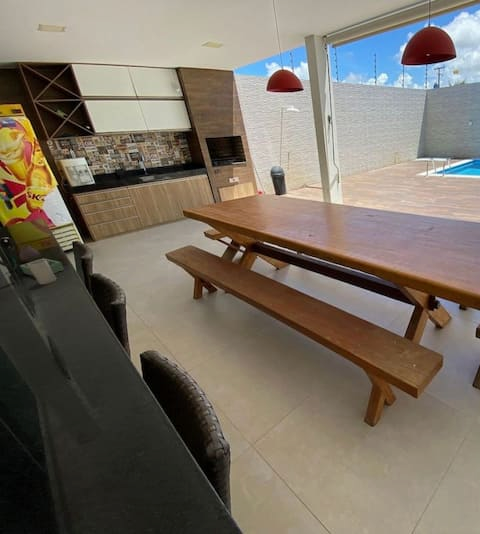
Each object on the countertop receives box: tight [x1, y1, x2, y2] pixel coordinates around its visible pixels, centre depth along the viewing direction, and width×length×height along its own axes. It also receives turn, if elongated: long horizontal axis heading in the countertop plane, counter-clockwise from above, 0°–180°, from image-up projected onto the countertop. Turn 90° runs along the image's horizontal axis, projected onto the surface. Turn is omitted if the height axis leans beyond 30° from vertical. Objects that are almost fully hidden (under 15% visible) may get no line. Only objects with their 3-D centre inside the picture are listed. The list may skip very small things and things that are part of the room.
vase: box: [19, 245, 42, 263], centre depth 149 cm, size 7×7×9 cm
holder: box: [19, 257, 66, 277], centre depth 139 cm, size 8×16×4 cm, turn 66°
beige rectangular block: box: [28, 258, 58, 285], centre depth 128 cm, size 6×6×9 cm
